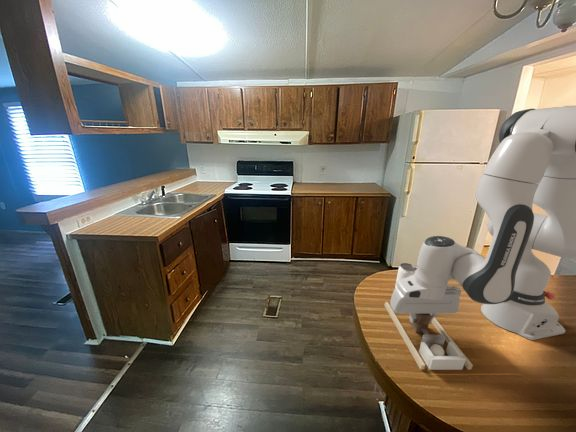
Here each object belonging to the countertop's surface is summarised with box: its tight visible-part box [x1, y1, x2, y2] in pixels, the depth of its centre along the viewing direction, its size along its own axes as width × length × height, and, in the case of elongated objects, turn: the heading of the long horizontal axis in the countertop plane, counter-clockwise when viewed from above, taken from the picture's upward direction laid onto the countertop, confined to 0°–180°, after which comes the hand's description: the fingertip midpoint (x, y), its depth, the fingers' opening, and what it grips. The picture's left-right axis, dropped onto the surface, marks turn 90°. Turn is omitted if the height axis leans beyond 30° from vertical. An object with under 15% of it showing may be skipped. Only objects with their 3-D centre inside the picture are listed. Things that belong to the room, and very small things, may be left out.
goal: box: [418, 341, 466, 371], centre depth 65 cm, size 9×6×4 cm, turn 90°
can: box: [394, 262, 417, 289], centre depth 94 cm, size 6×6×12 cm
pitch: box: [384, 301, 474, 371], centre depth 75 cm, size 14×25×3 cm, turn 0°
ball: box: [430, 344, 446, 356], centre depth 67 cm, size 4×4×4 cm
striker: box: [409, 314, 446, 349], centre depth 73 cm, size 6×10×7 cm, turn 0°
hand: (419, 321), depth 75 cm, fingers closed on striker, 3 cm apart
